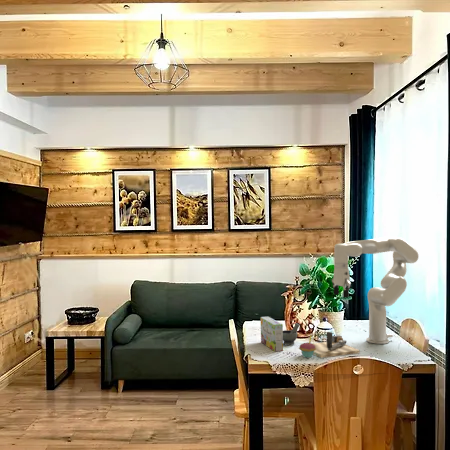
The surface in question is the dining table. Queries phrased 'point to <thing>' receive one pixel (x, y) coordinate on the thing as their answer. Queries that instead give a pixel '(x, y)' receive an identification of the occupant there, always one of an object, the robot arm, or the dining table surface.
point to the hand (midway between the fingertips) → (341, 295)
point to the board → (342, 350)
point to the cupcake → (307, 348)
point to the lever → (329, 342)
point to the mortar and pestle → (290, 335)
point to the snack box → (272, 333)
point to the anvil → (335, 338)
